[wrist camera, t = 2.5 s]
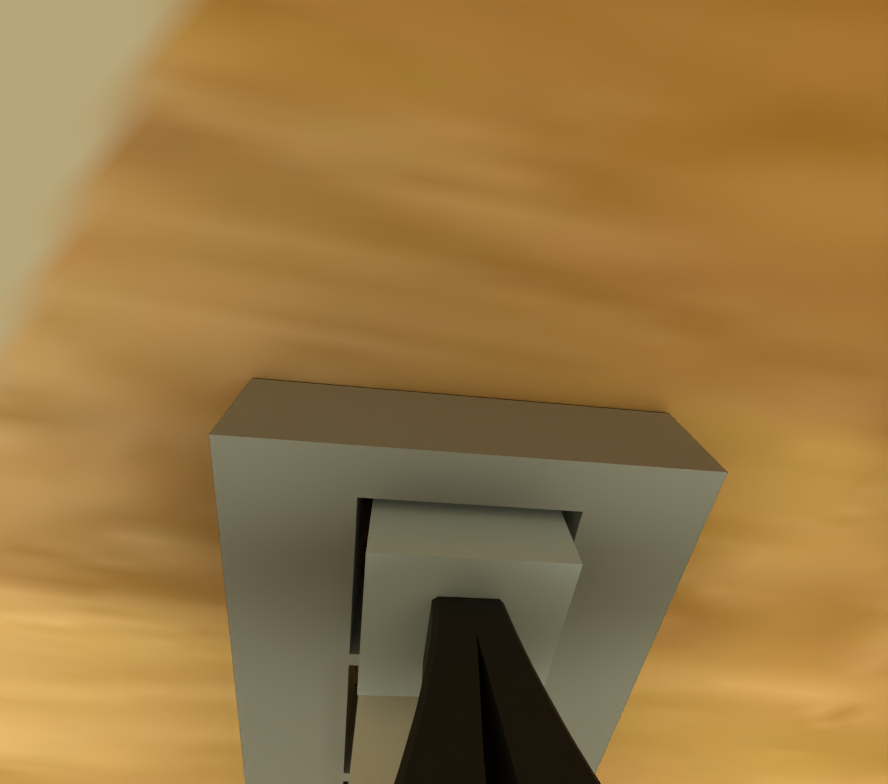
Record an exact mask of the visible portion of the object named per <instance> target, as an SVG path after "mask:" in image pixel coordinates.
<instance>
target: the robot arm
mask: <svg viewBox="0 0 888 784" xmlns="http://www.w3.org/2000/svg"><path fill="white" fill-rule="evenodd" d="M394 784H601V783H600V782H599V780H598V779H597V777H596V775H595V774H594V772H593V770H592V769H591V767H590V766H589V764H588V762H587V761H586V759H585V757H584V756H583V754H582V753H581V751H580V749H579V748H578V746H577V744H576V743H575V741H574V739H573V738H572V736H571V734H570V732H569V731H568V729H567V727H566V726H565V724H564V722H563V720H562V718H561V717H560V715H559V713H558V711H557V709H556V708H555V706H554V704H553V702H552V700H551V699H550V697H549V695H548V693H547V691H546V690H545V688H544V686H543V684H542V682H541V680H540V678H539V676H538V675H537V673H536V671H535V669H534V667H533V665H532V663H531V661H530V659H529V657H528V655H527V653H526V651H525V649H524V647H523V645H522V643H521V640H520V638H519V636H518V634H517V632H516V630H515V628H514V625H513V623H512V621H511V619H510V616H509V614H508V612H507V609H506V607H505V605H504V603H503V602H502V601H501V600H500V599H490V598H467V597H445V596H438V597H436V598H435V599H433V600H432V603H431V610H430V616H429V623H428V630H427V637H426V644H425V651H424V657H423V670H422V685H421V689H420V694H419V698H418V702H417V707H416V711H415V714H414V718H413V722H412V725H411V728H410V732H409V735H408V739H407V742H406V746H405V749H404V752H403V756H402V759H401V763H400V766H399V769H398V773H397V776H396V779H395V782H394Z"/></svg>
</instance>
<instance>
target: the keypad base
mask: <svg viewBox="0 0 888 784" xmlns="http://www.w3.org/2000/svg"><path fill="white" fill-rule="evenodd" d="M209 440H210V450H211V459H212V469H213V478H214V488H215V497H216V507H217V517H218V526H219V536H220V545H221V555H222V564H223V574H224V584H225V593H226V603H227V612H228V622H229V631H230V641H231V651H232V660H233V670H234V679H235V689H236V698H237V708H238V717H239V727H240V737H241V746H242V756H243V765H244V775H245V784H349V775H350V766H351V757H352V748H353V739H354V730H355V721H356V712H357V703H358V695H357V687H358V686H354V679H355V665H356V666H359V655H360V639H361V623H362V607H363V591H364V575H365V573H361V558H362V541H363V523H364V506H365V498H374V499H390V500H406V501H422V502H437V503H453V504H469V505H485V506H501V507H517V508H532V509H548V510H561V512H562V515H563V517H564V520H565V522H566V524H567V527H568V529H569V532H570V534H571V537H572V539H573V542H574V544H575V546H576V549H577V551H578V554H579V556H580V559H581V561H582V564H583V565H582V568H581V572H580V575H579V578H578V581H577V584H576V587H575V590H574V594H573V597H572V600H571V603H570V606H569V609H568V613H567V616H566V619H565V622H564V625H563V628H562V631H561V635H560V638H559V641H558V644H557V647H556V650H555V653H554V657H553V660H552V663H551V666H550V669H549V672H548V676H547V679H546V682H545V685H544V688H545V690H546V691H547V693H548V695H549V697H550V699H551V700H552V702H553V704H554V706H555V708H556V709H557V711H558V713H559V715H560V717H561V718H562V720H563V722H564V724H565V726H566V727H567V729H568V731H569V732H570V734H571V736H572V738H573V739H574V741H575V743H576V744H577V746H578V748H579V749H580V751H581V753H582V754H583V756H584V757H585V759H586V761H587V762H588V764H589V766H590V767H591V769H592V770H593V772H594V774H595V773H596V771H597V768H598V766H599V764H600V762H601V759H602V757H603V755H604V752H605V750H606V748H607V746H608V743H609V741H610V739H611V737H612V734H613V732H614V730H615V727H616V725H617V723H618V721H619V718H620V716H621V714H622V711H623V709H624V707H625V705H626V702H627V700H628V698H629V696H630V693H631V691H632V689H633V686H634V684H635V682H636V680H637V677H638V675H639V673H640V671H641V668H642V666H643V664H644V661H645V659H646V657H647V655H648V652H649V650H650V648H651V645H652V643H653V641H654V639H655V636H656V634H657V632H658V630H659V627H660V625H661V623H662V620H663V618H664V616H665V614H666V611H667V609H668V607H669V605H670V602H671V600H672V598H673V595H674V593H675V591H676V589H677V586H678V584H679V582H680V579H681V577H682V575H683V573H684V570H685V568H686V566H687V564H688V561H689V559H690V557H691V554H692V552H693V550H694V548H695V545H696V543H697V541H698V539H699V536H700V534H701V532H702V529H703V527H704V525H705V523H706V520H707V518H708V516H709V513H710V511H711V509H712V507H713V504H714V502H715V500H716V498H717V495H718V493H719V491H720V488H721V486H722V484H723V482H724V479H725V477H726V475H727V473H728V472H727V471H726V470H725V469H724V468H723V467H722V466H721V465H720V464H719V463H718V462H717V461H716V460H715V459H714V458H713V457H712V456H711V455H710V454H709V453H708V452H707V451H706V450H705V449H704V448H703V447H702V446H701V445H700V444H699V443H698V442H697V441H696V440H695V439H694V438H693V437H692V436H691V435H690V434H689V433H688V432H687V431H686V430H685V429H684V428H683V427H682V426H681V425H680V424H679V423H678V422H677V421H676V420H675V419H674V418H673V417H672V416H671V415H670V414H669V413H658V412H646V411H634V410H622V409H610V408H598V407H586V406H575V405H563V404H551V403H539V402H527V401H515V400H503V399H491V398H479V397H468V396H456V395H444V394H432V393H420V392H408V391H396V390H384V389H372V388H361V387H349V386H337V385H325V384H313V383H301V382H289V381H277V380H266V379H254V378H252V379H251V380H250V381H249V383H248V384H247V385H246V387H245V388H244V389H243V391H242V392H241V393H240V394H239V396H238V397H237V398H236V400H235V401H234V402H233V404H232V405H231V406H230V407H229V409H228V410H227V411H226V413H225V414H224V415H223V417H222V418H221V419H220V421H219V422H218V423H217V424H216V426H215V427H214V428H213V430H212V431H211V432H210V434H209Z"/></svg>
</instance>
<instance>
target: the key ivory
mask: <svg viewBox="0 0 888 784" xmlns="http://www.w3.org/2000/svg"><path fill="white" fill-rule="evenodd" d="M418 698H419V697H408V696H369V695H358V703H357V712H356V721H355V730H354V739H353V748H352V757H351V766H350V775H349V784H394V782H395V779H396V776H397V773H398V769H399V766H400V763H401V759H402V756H403V752H404V749H405V746H406V742H407V739H408V735H409V732H410V728H411V725H412V722H413V718H414V714H415V711H416V707H417V702H418Z"/></svg>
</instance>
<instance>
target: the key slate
mask: <svg viewBox="0 0 888 784" xmlns="http://www.w3.org/2000/svg"><path fill="white" fill-rule="evenodd" d="M582 565H583V564H582V561H581V559H580V556H579V554H578V551H577V549H576V546H575V544H574V542H573V539H572V537H571V534H570V532H569V529H568V527H567V524H566V522H565V520H564V517H563V515H562V512H561V510H548V509H532V508H517V507H501V506H485V505H469V504H453V503H437V502H422V501H406V500H390V499H374V498H373V503H372V511H371V518H370V526H369V533H368V541H367V548H366V559H365V575H364V591H363V607H362V623H361V639H360V655H359V671H358V687H357V695H369V696H408V697H419V694H420V689H421V685H422V670H423V657H424V651H425V644H426V637H427V630H428V623H429V616H430V610H431V603H432V600H433V599H435V598H436V597H438V596H445V597H467V598H490V599H500V600H501V601H502V602H503V603H504V605H505V607H506V609H507V612H508V614H509V616H510V619H511V621H512V623H513V625H514V628H515V630H516V632H517V634H518V636H519V638H520V640H521V643H522V645H523V647H524V649H525V651H526V653H527V655H528V657H529V659H530V661H531V663H532V665H533V667H534V669H535V671H536V673H537V675H538V676H539V678H540V680H541V682H542V684H543V686H544V685H545V682H546V679H547V676H548V672H549V669H550V666H551V663H552V660H553V657H554V653H555V650H556V647H557V644H558V641H559V638H560V635H561V631H562V628H563V625H564V622H565V619H566V616H567V613H568V609H569V606H570V603H571V600H572V597H573V594H574V590H575V587H576V584H577V581H578V578H579V575H580V572H581V568H582Z"/></svg>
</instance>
